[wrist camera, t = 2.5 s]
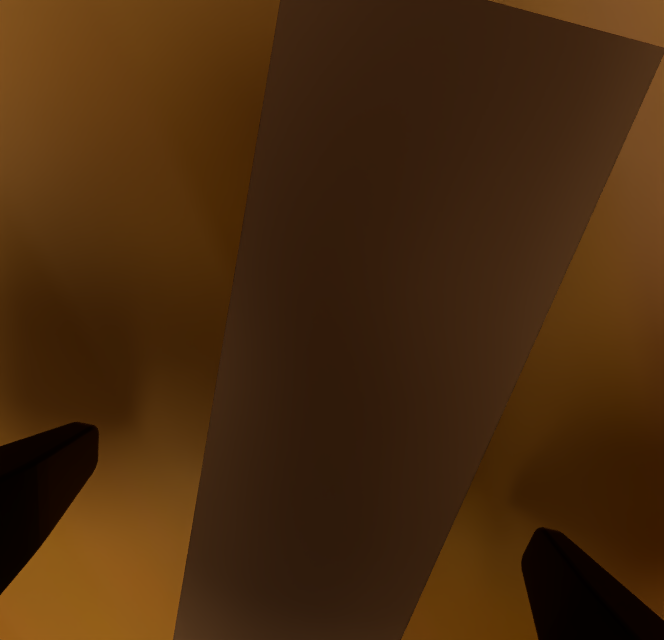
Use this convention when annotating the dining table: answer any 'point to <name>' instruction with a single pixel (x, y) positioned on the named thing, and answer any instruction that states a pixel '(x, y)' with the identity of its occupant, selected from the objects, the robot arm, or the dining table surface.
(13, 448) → the robot arm
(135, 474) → the dining table surface
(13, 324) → the dining table surface
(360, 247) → the rail
